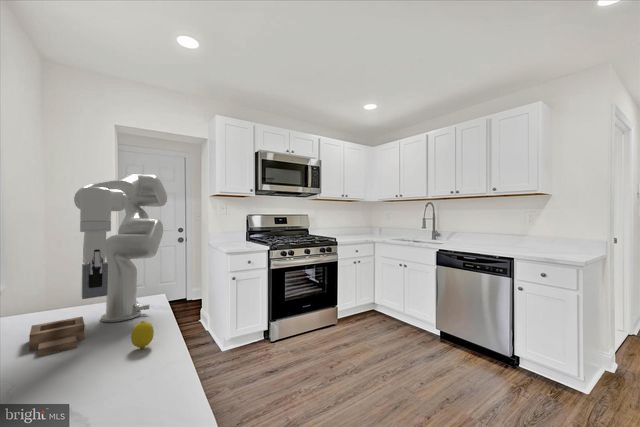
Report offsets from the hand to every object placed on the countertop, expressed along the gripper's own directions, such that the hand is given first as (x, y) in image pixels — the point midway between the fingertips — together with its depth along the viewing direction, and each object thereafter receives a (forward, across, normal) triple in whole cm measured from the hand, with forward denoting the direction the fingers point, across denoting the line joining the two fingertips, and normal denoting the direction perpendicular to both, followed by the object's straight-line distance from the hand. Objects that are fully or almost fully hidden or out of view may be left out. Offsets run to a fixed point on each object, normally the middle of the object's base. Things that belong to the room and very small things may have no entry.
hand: (94, 285), depth 87 cm
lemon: (+17, +17, +10) cm, 26 cm away
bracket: (+3, 0, 0) cm, 3 cm away
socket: (+17, -8, -8) cm, 20 cm away
